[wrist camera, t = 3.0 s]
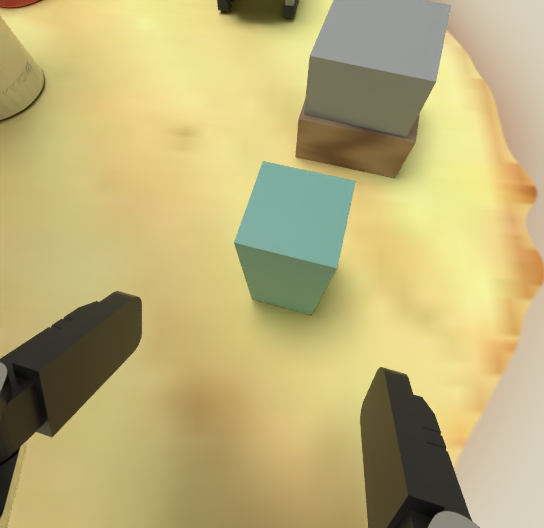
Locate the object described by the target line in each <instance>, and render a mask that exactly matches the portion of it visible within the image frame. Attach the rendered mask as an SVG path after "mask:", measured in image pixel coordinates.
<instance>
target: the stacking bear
mask: <svg viewBox="0 0 544 528" xmlns="http://www.w3.org/2000/svg"><path fill="white" fill-rule="evenodd" d="M37 1H39V0H0V6H1V7H20V6H25V5H28V4H31V3H34V2H37Z"/></svg>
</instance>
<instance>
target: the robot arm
mask: <svg viewBox="0 0 544 528" xmlns="http://www.w3.org/2000/svg"><path fill="white" fill-rule="evenodd" d="M43 84H44V76H43V73H42V70H41V69H40V68H39V66H38V65H37V64H36V62H35V61H34V60H33V58H32V57H31V56H30V55H29V53H28V52H27V51H26V49H25V48H24V47H23V45H22V44H21V43H20V41H19V40H18V39H17V37H16V36H15V35H14V33H13V32H12V31H11V29H10V28H9V26H8V25H7V24H6V23H5V21H4V20H3V19H2V17H1V16H0V120H1V119H5V118H7V117H10V116H12V115H15V114H16V113H18V112H20V111H22V110H23V109H25V108H26V107H27V106H29V105H30V104H31V103H32V102H33V101H34V100H35V99H36V98H37V96H38V95H39V93H40V92H41V90H42V87H43ZM141 335H142V302H141V299H140V298H139V297H137V296H133V295H130V294H126V293H123V292H119V291H116V292H114V293H112V294H110V295H109V296H108V297H106V298H105V299H103V300H102V301H100V302H98V301H96V302H93V303H90V304H87V305H85V306H82V307H79V308H77V309H76V310H74V311H73V312H71V313H70V314H68V315H67V316H65V317H64V319H61V320H59V321H58V322H56V323H55V324H53V325H52V327H51V328H50V327H48V328H47V329H45V330H44V331H42V332H41V333H39V334H38V335H36V336H35V337H33V338H32V339H30V340H29V341H27V342H25V343H24V344H22V345H21V346H19V347H18V348H16V349H15V350H13V351H12V352H10V353H9V354H7V355H6V356H4V357H3V358H1V359H0V528H8V522H9V518H10V514H11V510H12V506H13V502H14V497H15V493H16V489H17V485H18V481H19V477H20V473H21V468H22V464H23V460H24V456H25V452H26V446H27V445H26V441H27V440H28V439H29V438H30V437H31V436H32V435H33V434H34V433H35V432H39V433H41V434H44V435H47V436H50V437H53V436H54V435H55V434H56V433H57V432H58V431H59V430H60V429H61V427H62V426H63V425H64V424H65V423H66V422H67V421H68V420H69V419H70V418H71V417H72V416H73V415H74V414H75V413H76V412H77V411H78V410H79V409H80V408H81V407H82V406H83V404H84V403H85V402H86V401H87V400H88V399H89V398H90V397H91V396H92V395H93V394H94V393H95V392H96V391H97V390H98V389H99V388H100V387H101V386H102V385H103V384H104V383H105V381H106V380H107V379H108V378H109V377H110V376H111V375H112V374H113V373H114V372H115V371H116V370H117V369H118V368H119V367H120V366H121V365H122V364H123V363H124V362H125V361H126V359H127V358H128V357H129V356H130V355H131V354H132V353H133V352H134V351H135V350H136V348H137V347H138V345H139V342H140V340H141ZM360 425H361V438H362V451H363V464H364V477H365V490H366V503H367V516H368V528H480V527H479V526H477V525H476V524H475V523H474V522H472V519H471V517H470V514H469V512H468V509H467V506H466V503H465V500H464V498H463V494H462V491H461V489H460V486H459V483H458V480H457V477H456V474H455V471H454V468H453V466H452V463H451V460H450V457H449V454H448V452H447V451H446V445H445V443H444V440H443V437H442V436H441V431H440V428H439V425H438V422H437V420H436V417H435V414H434V413H433V411H432V410H431V409H430V407H429V406H428V404H427V403H426V402H425V400H424V399H423V398H422V397H420V396H416V395H413V392H412V389H411V385H410V382H409V378H408V376H407V375H406V374H404V373H400V372H397V371H393V370H390V369H386V368H383V367H380V368H379V369H378V370H377V372H376V374H375V377H374V379H373V381H372V383H371V386H370V388H369V390H368V392H367V395H366V397H365V399H364V401H363V405H362V409H361V416H360Z"/></svg>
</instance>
